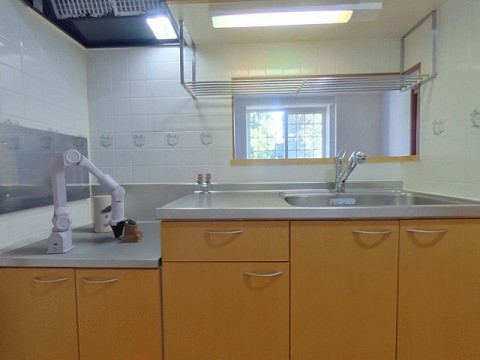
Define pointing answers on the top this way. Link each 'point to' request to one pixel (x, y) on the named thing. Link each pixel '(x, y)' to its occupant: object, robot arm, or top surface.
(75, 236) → the top surface
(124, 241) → the lighter dock
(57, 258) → the top surface
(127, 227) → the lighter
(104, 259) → the top surface
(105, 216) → the container
